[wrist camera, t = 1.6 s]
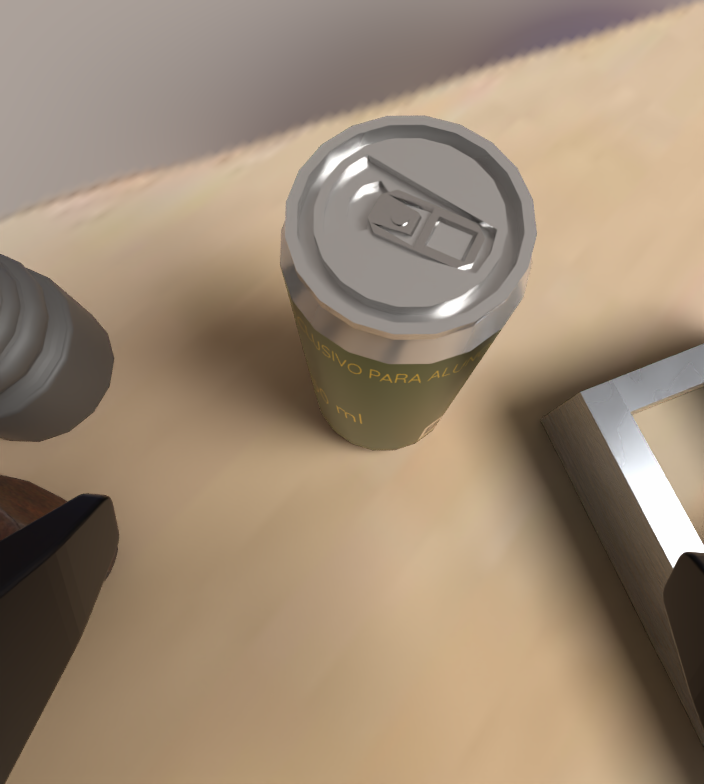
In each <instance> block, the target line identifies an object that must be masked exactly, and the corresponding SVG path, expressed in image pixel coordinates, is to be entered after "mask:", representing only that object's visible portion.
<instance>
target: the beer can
mask: <svg viewBox="0 0 704 784" xmlns="http://www.w3.org/2000/svg"><path fill="white" fill-rule="evenodd" d="M536 236H537V230H536V222H535V213H534V204H533V199H532V197H531V195H530V193H529V191H528V189H527V187H526V185H525V183H524V181H523V179H522V177H521V175H520V173H519V170H518V168H517V167H516V166H515V165H514V164H513V163H512V162H511V161H510V160H509V159H508V158H507V157H506V156H505V155H504V154H503V153H502V152H501V151H500V150H499V149H498V148H497V147H496V146H495V145H494V144H493V143H492V142H490V141H489V140H487V139H485V138H483V137H481V136H480V135H478V134H476V133H474V132H473V131H471V130H469V129H467V128H465V127H464V126H462V125H460V124H456V123H452V122H448V121H444V120H440V119H436V118H432V117H428V116H385V117H382V118H378V119H375V120H371V121H368V122H364V123H360V124H357V125H353V126H351V127H349V128H348V129H346V130H344V131H343V132H341V133H340V134H338V135H336V136H335V137H333V138H331V139H330V140H328V141H326V142H325V143H323V144H322V145H321V146H320V147H319V148H318V149H317V150H316V151H315V153H314V154H313V155H312V156H311V157H310V158H309V160H308V161H307V162H306V163H305V164H304V165H303V166H302V168H301V169H300V170H299V171H298V174H297V176H296V179H295V181H294V184H293V186H292V189H291V191H290V194H289V196H288V199H287V201H286V218H285V222H284V225H283V227H282V230H281V257H280V266H281V269H282V273H283V277H284V280H285V284H286V288H287V291H288V295H289V299H290V302H291V306H292V310H293V313H294V317H295V321H296V324H297V328H298V332H299V335H300V339H301V343H302V346H303V350H304V354H305V357H306V361H307V365H308V368H309V372H310V376H311V379H312V383H313V387H314V390H315V394H316V397H317V400H318V403H319V407H320V410H321V413H322V415H323V416H324V418H325V419H326V420H327V422H328V423H329V424H330V426H331V427H332V428H333V430H334V431H335V432H336V433H338V434H339V435H341V436H342V437H343V438H345V439H346V440H348V441H349V442H350V443H352V444H355V445H358V446H361V447H364V448H367V449H371V450H397V449H400V448H403V447H406V446H409V445H412V444H415V443H416V442H418V441H419V440H420V439H422V438H423V437H424V436H426V435H427V434H428V433H430V432H431V431H432V430H433V429H434V427H435V426H436V425H437V423H438V422H439V420H440V419H441V417H442V416H443V414H444V413H445V411H446V410H447V409H448V407H449V406H450V404H451V403H452V401H453V400H454V398H455V397H456V395H457V394H458V392H459V391H460V389H461V388H462V387H463V385H464V384H465V382H466V381H467V379H468V378H469V376H470V375H471V373H472V372H473V370H474V369H475V367H476V366H477V365H478V363H479V362H480V360H481V359H482V357H483V356H484V354H485V353H486V351H487V350H488V348H489V347H490V345H491V344H492V343H493V341H494V340H495V338H496V337H497V335H498V334H499V332H500V331H501V329H502V328H503V326H504V325H505V324H506V322H507V321H508V319H509V318H510V316H511V315H512V313H513V312H514V310H515V309H516V307H517V306H518V304H519V303H520V302H521V300H522V299H523V297H524V293H525V289H526V285H527V281H528V277H529V273H530V269H531V265H532V252H533V248H534V244H535V240H536Z"/></svg>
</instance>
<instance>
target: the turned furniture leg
mask: <svg viewBox="0 0 704 784" xmlns="http://www.w3.org/2000/svg"><path fill="white" fill-rule="evenodd" d="M113 362H114V356H113V352H112V348H111V344H110V341H109V337H108V333H107V332H106V331H105V330H104V329H103V327H102V326H101V325H100V324H99V323H98V322H97V320H96V319H95V318H94V317H93V316H92V315H91V314H90V313H89V312H88V311H87V310H86V309H85V308H83V307H82V306H81V305H80V304H79V303H78V302H76V301H75V300H74V299H73V298H72V297H71V296H69V295H68V294H67V293H66V292H65V291H64V290H62V289H61V288H60V287H59V286H58V285H57V284H56V283H54V282H53V281H52V280H51V279H50V278H48V277H45V276H43V275H41V274H39V273H37V272H34V271H32V270H30V269H28V268H25V267H24V266H23V265H22V264H21V263H20V262H17V261H15V260H13V259H11V258H9V257H6V256H4V255H2V254H0V438H3V439H6V440H10V441H32V442H40V441H43V440H46V439H49V438H52V437H55V436H58V435H61V434H64V433H67V432H69V431H70V430H72V429H73V428H74V427H75V426H77V425H78V424H79V423H80V422H82V421H83V420H84V419H85V418H87V417H88V416H89V415H90V414H92V413H93V412H94V410H95V409H96V407H97V406H98V404H99V402H100V401H101V399H102V397H103V396H104V394H105V393H106V391H107V389H108V388H109V385H110V380H111V374H112V368H113Z"/></svg>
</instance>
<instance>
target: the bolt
mask: <svg viewBox="0 0 704 784" xmlns="http://www.w3.org/2000/svg"><path fill="white" fill-rule="evenodd" d="M65 503H67V501H65V500H64V499H62V498H60V497H58V496H56V495H54V494H53V493H51V492H49V491H47V490H45V489H43V488H41V487H39V486H37V485H35V484H33V483H31V482H28V481H24V480H20V479H16V478H11V477H7V476H2V475H0V541H1V540H2V539H4V538H6V537H8V536H9V535H11V534H13V533H14V532H16V531H18V530H20V529H21V528H23V527H25V526H27V525H28V524H30V523H32V522H34V521H35V520H37V519H39V518H41V517H42V516H44V515H46V514H47V513H49V512H51V511H53V510H54V509H56V508H58V507H60V506H61V505H63V504H65ZM117 550H118V546H117V549H116V552H115V554H114V557H113V559H112V562H111V564H110V567H109V569H108V572H107V574H106V577H105V579H106V578H107V577H108V575H109V574H110V572H111V570H112V567H113V565H114V562H115V559H116V555H117ZM105 579H104V581H105Z"/></svg>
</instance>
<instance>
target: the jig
mask: <svg viewBox="0 0 704 784" xmlns="http://www.w3.org/2000/svg"><path fill="white" fill-rule="evenodd" d="M703 386H704V344H701V345H699V346H696V347H694V348H691V349H689V350H686V351H684V352H681V353H678V354H676V355H673V356H671V357H668V358H666V359H663V360H661V361H658V362H655V363H653V364H650V365H648V366H645V367H643V368H640V369H638V370H635V371H633V372H630V373H627V374H625V375H622V376H620V377H617V378H615V379H612V380H610V381H607V382H604V383H602V384H599V385H597V386H594V387H592V388H589V389H587V390H584V391H582V392H580V393H578V394H577V395H575V396H574V397H572V398H571V399H569V400H568V401H566V402H565V403H563V404H562V405H560V406H559V407H557V408H556V409H554V410H553V411H551V412H550V413H548V414H547V415H545V416H544V417H542V418H541V419H540V420H541V422H542V424H543V426H544V428H545V430H546V432H547V434H548V436H549V438H550V440H551V442H552V444H553V446H554V448H555V450H556V452H557V454H558V456H559V458H560V460H561V462H562V464H563V466H564V468H565V470H566V472H567V474H568V476H569V478H570V480H571V482H572V484H573V486H574V488H575V490H576V492H577V494H578V496H579V498H580V500H581V502H582V504H583V506H584V508H585V510H586V512H587V514H588V516H589V518H590V520H591V522H592V524H593V526H594V528H595V530H596V532H597V534H598V536H599V538H600V540H601V542H602V544H603V546H604V548H605V550H606V552H607V554H608V556H609V558H610V560H611V562H612V564H613V566H614V568H615V570H616V572H617V574H618V576H619V578H620V580H621V582H622V584H623V586H624V588H625V590H626V592H627V594H628V596H629V598H630V600H631V602H632V604H633V606H634V608H635V610H636V612H637V614H638V616H639V618H640V620H641V622H642V624H643V626H644V628H645V630H646V632H647V634H648V636H649V638H650V640H651V642H652V644H653V646H654V648H655V650H656V652H657V654H658V656H659V658H660V660H661V663H662V665H663V667H664V669H665V671H666V673H667V675H668V677H669V679H670V681H671V683H672V685H673V687H674V689H675V691H676V693H677V695H678V697H679V699H680V701H681V703H682V705H683V707H684V709H685V711H686V713H687V715H688V717H689V719H690V721H691V723H692V725H693V727H694V729H695V731H696V733H697V735H698V737H699V739H700V741H701V743H702V745H703V747H704V730H703V728H702V725H701V723H700V720H699V717H698V715H697V712H696V709H695V707H694V704H693V701H692V698H691V695H690V692H689V689H688V686H687V682H686V679H685V676H684V672H683V669H682V665H681V662H680V658H679V655H678V651H677V648H676V644H675V641H674V638H673V634H672V631H671V627H670V624H669V620H668V617H667V613H666V610H665V606H664V602H663V589H664V585H665V583H666V581H667V579H668V577H669V575H670V573H671V572H672V570H673V568H674V566H675V564H676V562H677V560H678V558H679V556H680V555H681V554H683V553H684V552H688V551H690V552H700V553H704V546H703V544H702V542H701V540H700V538H699V537H698V535H697V533H696V531H695V529H694V527H693V526H692V524H691V522H690V520H689V518H688V517H687V515H686V513H685V511H684V509H683V507H682V506H681V504H680V502H679V500H678V498H677V496H676V495H675V493H674V491H673V489H672V487H671V486H670V484H669V482H668V480H667V478H666V476H665V475H664V473H663V471H662V469H661V467H660V465H659V464H658V462H657V460H656V458H655V456H654V455H653V453H652V451H651V449H650V447H649V445H648V444H647V442H646V440H645V438H644V436H643V434H642V433H641V431H640V429H639V427H638V425H637V424H636V422H635V420H634V418H633V416H632V415H633V414H636V413H638V412H641V411H643V410H646V409H648V408H651V407H653V406H656V405H658V404H661V403H663V402H666V401H668V400H671V399H673V398H676V397H678V396H681V395H683V394H686V393H688V392H691V391H693V390H696V389H698V388H701V387H703Z"/></svg>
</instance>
